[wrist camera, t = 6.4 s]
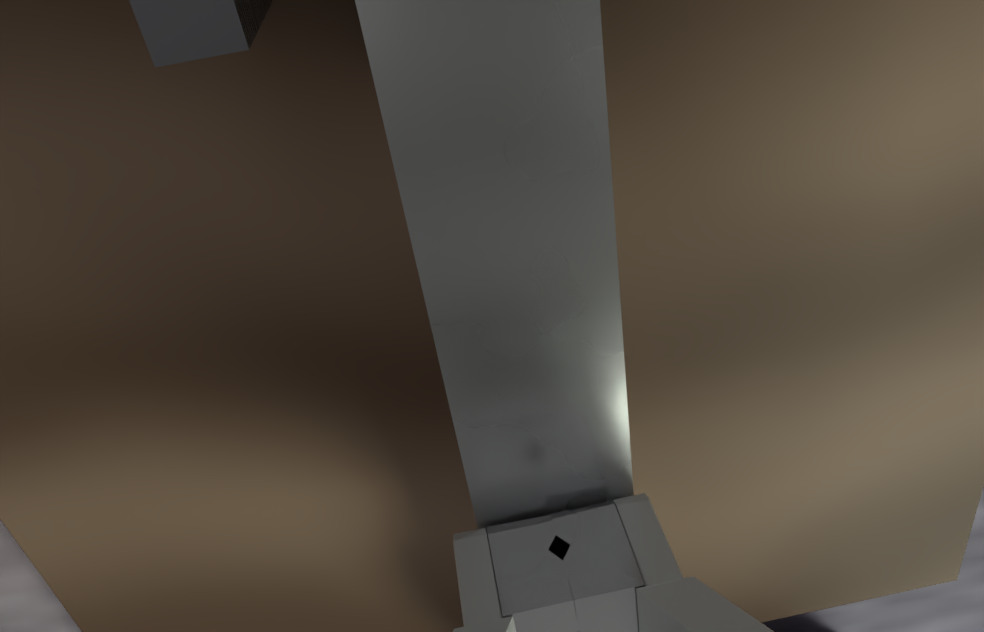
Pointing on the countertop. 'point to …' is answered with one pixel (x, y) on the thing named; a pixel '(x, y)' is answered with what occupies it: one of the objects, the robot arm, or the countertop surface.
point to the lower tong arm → (197, 27)
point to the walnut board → (407, 331)
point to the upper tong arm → (512, 238)
